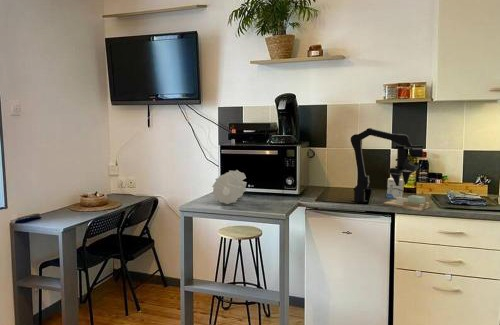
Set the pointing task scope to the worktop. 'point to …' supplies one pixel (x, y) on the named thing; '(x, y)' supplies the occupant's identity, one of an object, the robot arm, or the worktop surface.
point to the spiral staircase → (229, 187)
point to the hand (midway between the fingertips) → (401, 184)
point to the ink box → (394, 188)
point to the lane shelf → (408, 205)
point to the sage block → (411, 199)
